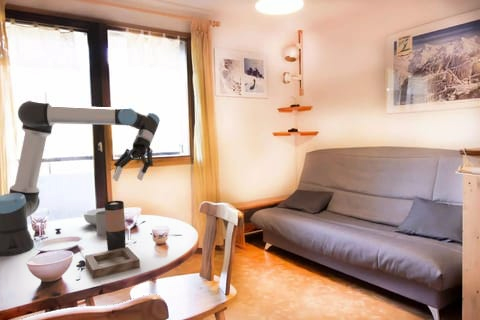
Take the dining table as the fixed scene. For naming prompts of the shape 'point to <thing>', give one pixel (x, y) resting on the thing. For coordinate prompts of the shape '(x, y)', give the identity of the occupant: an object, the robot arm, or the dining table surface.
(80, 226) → the dining table surface
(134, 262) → the walnut collar
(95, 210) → the cereal bowl
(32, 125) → the robot arm
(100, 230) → the cup
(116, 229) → the travel mug
